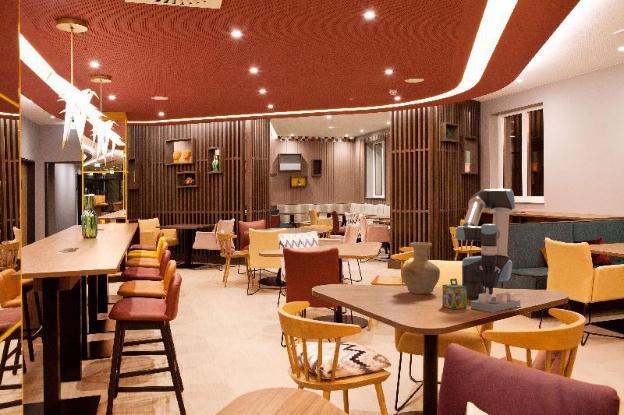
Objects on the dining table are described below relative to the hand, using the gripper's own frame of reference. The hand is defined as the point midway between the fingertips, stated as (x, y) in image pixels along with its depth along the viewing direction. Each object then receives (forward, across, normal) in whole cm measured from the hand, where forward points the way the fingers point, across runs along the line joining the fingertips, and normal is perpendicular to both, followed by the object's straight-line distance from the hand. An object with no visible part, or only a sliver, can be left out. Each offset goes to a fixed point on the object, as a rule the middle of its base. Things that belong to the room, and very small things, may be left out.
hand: (488, 300), depth 271 cm
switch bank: (+5, -1, +7) cm, 8 cm away
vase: (+5, -51, +5) cm, 51 cm away
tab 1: (+3, -3, 0) cm, 4 cm away
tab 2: (+3, +3, +7) cm, 8 cm away
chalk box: (+5, -14, -10) cm, 18 cm away
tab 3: (+3, +3, +14) cm, 14 cm away
